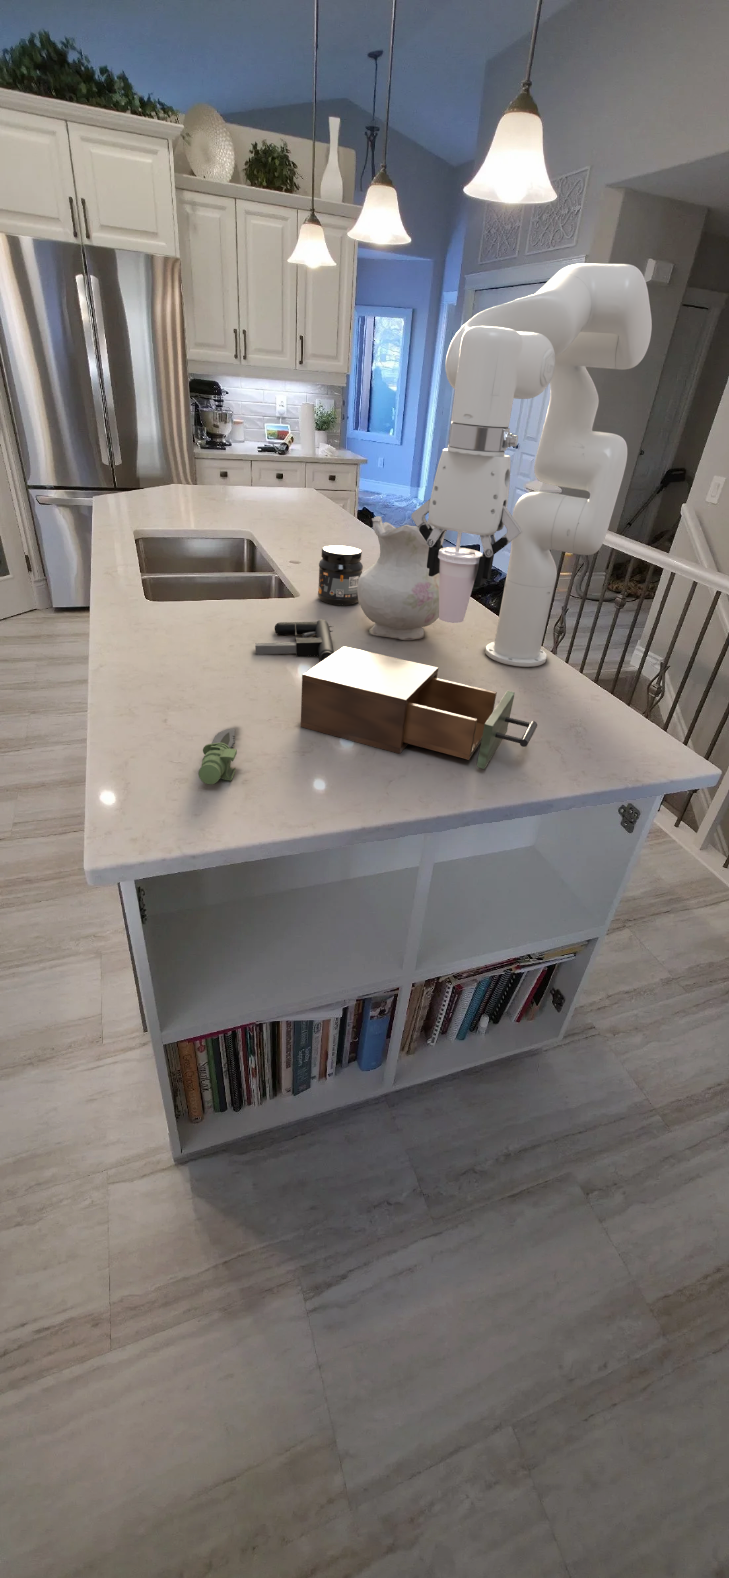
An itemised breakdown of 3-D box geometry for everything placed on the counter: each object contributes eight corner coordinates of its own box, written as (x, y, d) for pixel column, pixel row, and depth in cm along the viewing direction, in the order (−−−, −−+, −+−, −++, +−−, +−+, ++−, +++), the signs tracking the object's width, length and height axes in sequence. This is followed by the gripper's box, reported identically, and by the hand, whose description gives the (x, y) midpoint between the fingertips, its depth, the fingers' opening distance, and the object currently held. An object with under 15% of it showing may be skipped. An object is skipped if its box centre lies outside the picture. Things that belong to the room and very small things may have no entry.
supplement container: (323, 591, 171) (325, 542, 164) (364, 597, 169) (367, 547, 163) (312, 603, 162) (314, 551, 156) (355, 609, 161) (359, 557, 154)
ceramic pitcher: (384, 615, 162) (386, 503, 149) (462, 625, 154) (471, 508, 142) (342, 640, 145) (340, 516, 133) (426, 653, 138) (433, 523, 125)
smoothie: (426, 611, 104) (439, 514, 96) (467, 613, 104) (483, 517, 97) (433, 624, 98) (447, 522, 91) (476, 626, 99) (493, 526, 91)
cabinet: (431, 717, 113) (438, 667, 108) (399, 754, 101) (406, 700, 96) (340, 694, 118) (343, 646, 113) (300, 726, 106) (301, 674, 102)
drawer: (536, 739, 106) (545, 699, 103) (517, 778, 96) (527, 734, 92) (415, 709, 113) (420, 670, 109) (384, 742, 102) (388, 700, 98)
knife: (190, 758, 86) (229, 763, 86) (217, 714, 103) (250, 718, 103) (188, 786, 87) (227, 791, 88) (215, 738, 104) (248, 742, 105)
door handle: (254, 653, 125) (340, 651, 127) (256, 618, 142) (333, 617, 143) (255, 670, 127) (340, 667, 128) (258, 634, 144) (333, 632, 145)
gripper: (548, 447, 89) (521, 584, 98) (425, 432, 94) (410, 564, 104) (536, 450, 83) (509, 596, 92) (405, 434, 88) (392, 573, 98)
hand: (457, 577), depth 98 cm, fingers closed on smoothie, 6 cm apart
